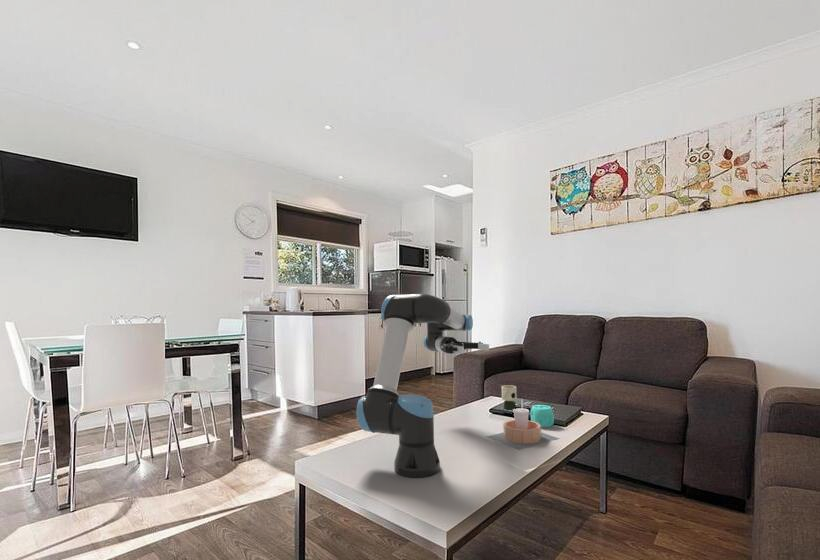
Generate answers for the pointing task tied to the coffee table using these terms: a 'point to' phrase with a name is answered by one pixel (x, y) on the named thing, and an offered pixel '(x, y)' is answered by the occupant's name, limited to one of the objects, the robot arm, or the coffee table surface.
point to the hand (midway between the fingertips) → (476, 348)
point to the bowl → (522, 432)
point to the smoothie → (521, 417)
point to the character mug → (509, 396)
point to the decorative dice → (542, 415)
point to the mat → (519, 446)
